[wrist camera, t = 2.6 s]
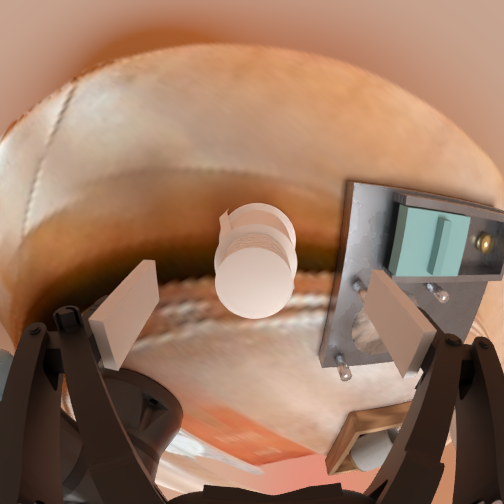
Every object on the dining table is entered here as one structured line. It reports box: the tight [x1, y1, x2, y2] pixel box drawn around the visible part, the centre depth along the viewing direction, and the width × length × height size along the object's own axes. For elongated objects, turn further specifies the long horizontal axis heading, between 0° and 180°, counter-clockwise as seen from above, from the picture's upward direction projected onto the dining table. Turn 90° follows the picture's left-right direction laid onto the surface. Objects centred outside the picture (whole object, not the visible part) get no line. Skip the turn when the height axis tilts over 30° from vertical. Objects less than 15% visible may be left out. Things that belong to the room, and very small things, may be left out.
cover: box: [388, 204, 471, 276], centre depth 20 cm, size 8×6×2 cm
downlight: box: [214, 203, 297, 319], centre depth 21 cm, size 8×7×10 cm
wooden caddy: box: [325, 401, 412, 475], centre depth 35 cm, size 15×17×4 cm
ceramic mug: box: [349, 428, 398, 472], centre depth 34 cm, size 11×8×8 cm
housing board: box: [319, 181, 504, 381], centre depth 24 cm, size 22×20×5 cm
